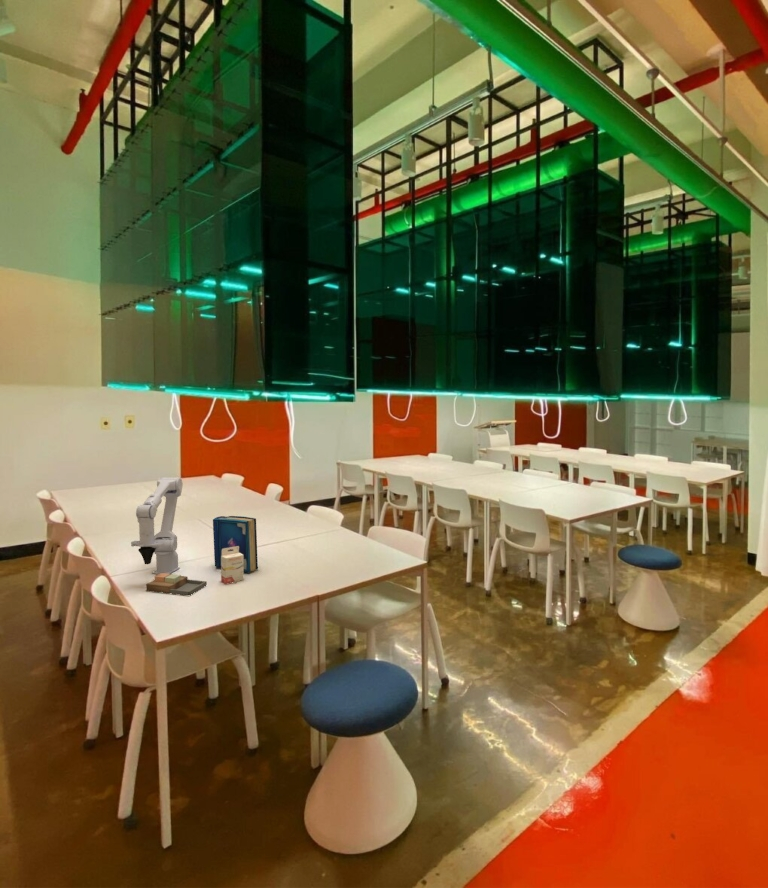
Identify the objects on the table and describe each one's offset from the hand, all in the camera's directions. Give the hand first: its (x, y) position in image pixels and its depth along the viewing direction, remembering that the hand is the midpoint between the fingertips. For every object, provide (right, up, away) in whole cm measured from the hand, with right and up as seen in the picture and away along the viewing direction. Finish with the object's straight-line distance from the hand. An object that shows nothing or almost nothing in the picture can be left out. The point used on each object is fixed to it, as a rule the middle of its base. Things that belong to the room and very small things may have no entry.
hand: (147, 563), depth 210 cm
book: (+31, -8, +22) cm, 39 cm away
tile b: (+12, -7, -2) cm, 14 cm away
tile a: (+7, -7, -1) cm, 10 cm away
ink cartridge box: (+34, -10, +7) cm, 36 cm away
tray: (+19, -10, -4) cm, 22 cm away
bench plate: (+9, -10, -1) cm, 13 cm away
